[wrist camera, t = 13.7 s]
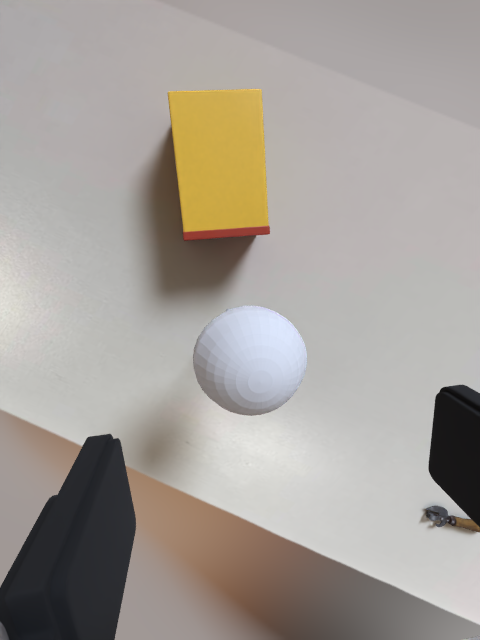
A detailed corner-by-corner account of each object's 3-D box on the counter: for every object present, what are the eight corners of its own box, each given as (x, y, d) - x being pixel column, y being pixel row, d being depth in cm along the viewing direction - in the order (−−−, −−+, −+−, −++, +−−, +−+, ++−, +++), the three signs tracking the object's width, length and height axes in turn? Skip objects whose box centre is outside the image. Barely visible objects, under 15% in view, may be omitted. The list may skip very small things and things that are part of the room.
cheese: (172, 119, 25) (166, 90, 20) (250, 116, 26) (262, 87, 21) (186, 240, 27) (183, 240, 22) (257, 235, 28) (270, 234, 23)
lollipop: (269, 288, 29) (342, 337, 15) (251, 348, 30) (302, 448, 16) (202, 270, 28) (211, 305, 14) (186, 334, 29) (178, 427, 15)
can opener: (484, 520, 40) (492, 528, 39) (473, 535, 40) (481, 543, 39) (427, 500, 38) (434, 508, 37) (416, 515, 38) (423, 524, 37)
